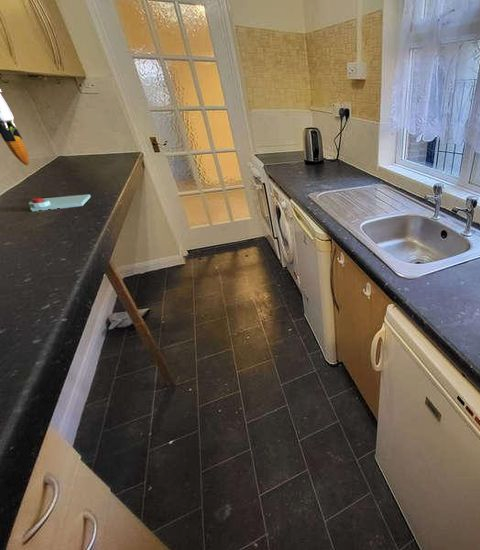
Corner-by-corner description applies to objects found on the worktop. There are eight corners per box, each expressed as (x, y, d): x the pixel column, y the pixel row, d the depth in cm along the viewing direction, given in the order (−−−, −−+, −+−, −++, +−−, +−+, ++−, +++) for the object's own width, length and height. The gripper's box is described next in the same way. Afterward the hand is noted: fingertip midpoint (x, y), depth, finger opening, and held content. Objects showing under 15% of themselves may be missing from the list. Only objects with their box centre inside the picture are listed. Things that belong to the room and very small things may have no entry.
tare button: (32, 204, 118) (30, 200, 117) (35, 201, 120) (33, 198, 119) (42, 203, 119) (40, 199, 118) (45, 201, 121) (43, 197, 120)
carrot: (32, 163, 127) (10, 124, 119) (37, 164, 125) (16, 125, 117) (16, 165, 123) (-7, 125, 115) (22, 167, 121) (-1, 126, 113)
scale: (30, 212, 117) (25, 204, 116) (43, 201, 128) (39, 194, 127) (82, 206, 124) (78, 199, 122) (91, 197, 135) (88, 190, 133)
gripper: (-18, 87, 115) (10, 138, 124) (-44, 86, 102) (-10, 143, 111) (9, 87, 118) (34, 137, 127) (-13, 87, 105) (17, 142, 114)
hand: (13, 139), depth 119 cm, fingers closed on carrot, 4 cm apart
